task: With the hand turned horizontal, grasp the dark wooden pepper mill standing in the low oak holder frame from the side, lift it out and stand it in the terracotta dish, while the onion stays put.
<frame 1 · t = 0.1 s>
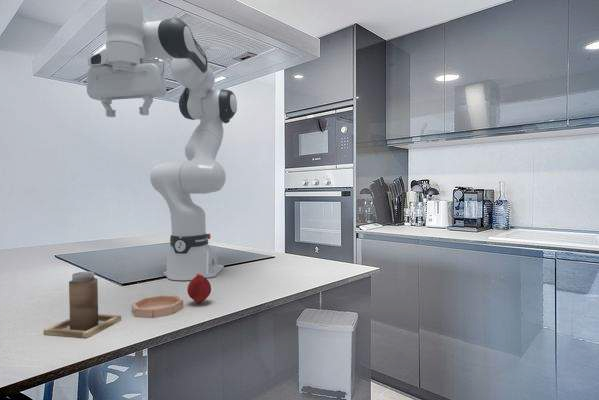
hand: (127, 115, 90), 48 cm above the counter, tool pointing down, fingers open, 8 cm apart
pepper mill: (84, 327, 76), resting in holder frame
onion: (199, 304, 92), on the counter
dish: (157, 309, 87), on the counter
holder frame: (84, 326, 76), on the counter
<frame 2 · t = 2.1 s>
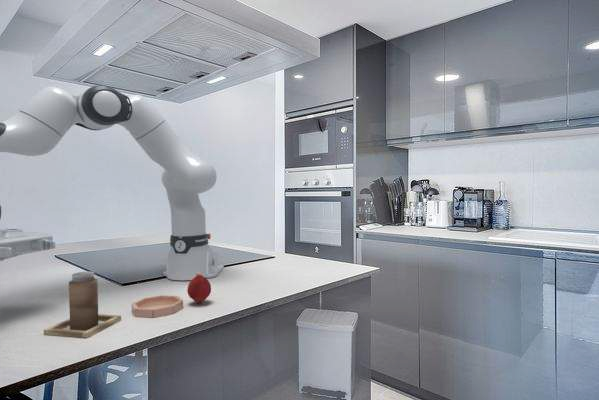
hand: (34, 248, 78), 17 cm above the counter, tool horizontal, fingers open, 8 cm apart
nothing on the counter moved.
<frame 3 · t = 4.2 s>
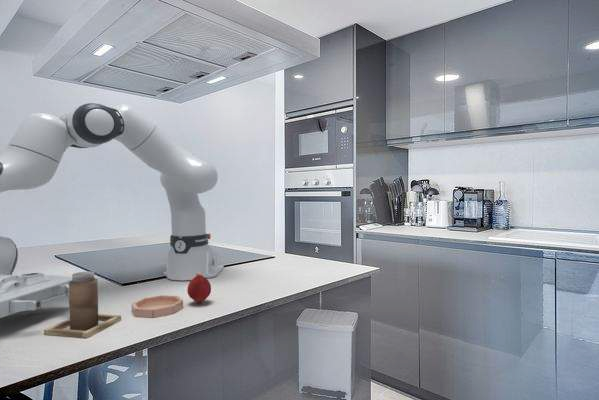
hand: (57, 298, 77), 6 cm above the counter, tool horizontal, fingers open, 8 cm apart
nothing on the counter moved.
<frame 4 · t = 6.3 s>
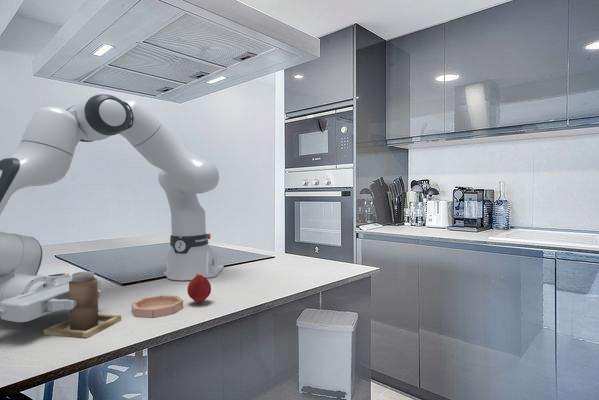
hand: (87, 299, 76), 6 cm above the counter, tool horizontal, fingers closed on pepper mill, 5 cm apart
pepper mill: (84, 327, 76), resting in holder frame, touching gripper
everything else where it was.
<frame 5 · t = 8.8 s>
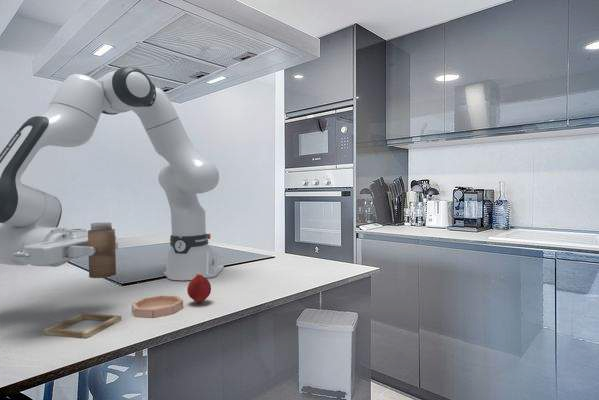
hand: (105, 248, 78), 16 cm above the counter, tool horizontal, fingers closed on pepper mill, 5 cm apart
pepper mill: (102, 275, 79), point 10 cm above the counter, touching gripper
everything else where it was.
when the fingers open (8 cm above the counter, at t = 11.7 s): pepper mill drops 1 cm, resting on dish.
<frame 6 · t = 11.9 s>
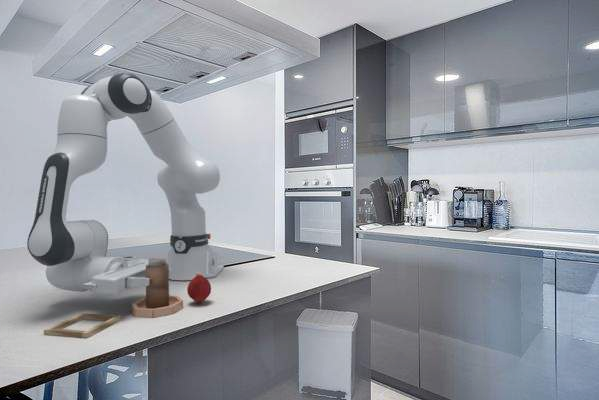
hand: (160, 277, 87), 8 cm above the counter, tool horizontal, fingers open, 7 cm apart
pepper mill: (157, 305, 87), point 1 cm above the counter, touching dish
everything else where it was.
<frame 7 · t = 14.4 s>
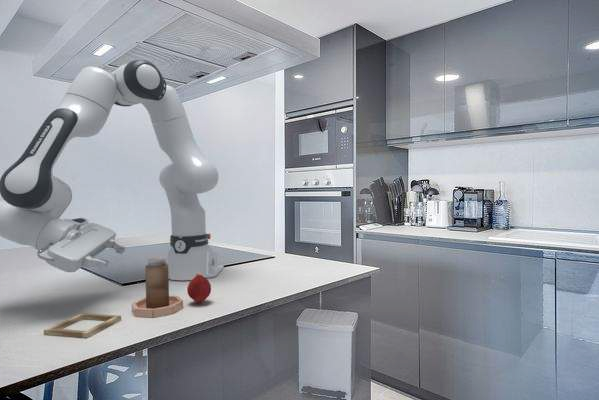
hand: (115, 257, 90), 12 cm above the counter, tool tilted 70°, fingers open, 8 cm apart
nothing on the counter moved.
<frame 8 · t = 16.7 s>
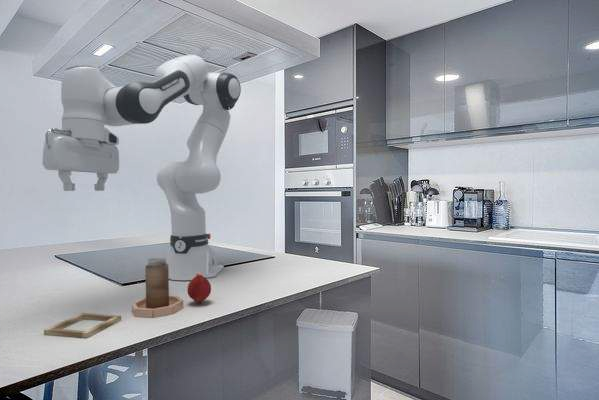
hand: (85, 190, 87), 29 cm above the counter, tool pointing down, fingers open, 8 cm apart
nothing on the counter moved.
at the end: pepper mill 0.0 cm from the dish (horizontally); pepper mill tilted 0°; the gripper is holding nothing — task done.
